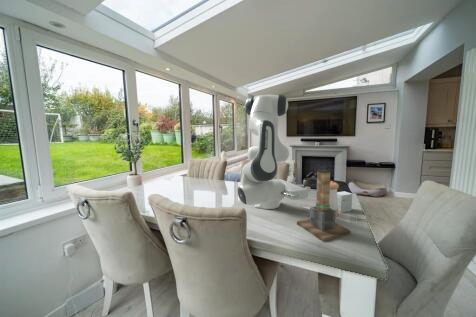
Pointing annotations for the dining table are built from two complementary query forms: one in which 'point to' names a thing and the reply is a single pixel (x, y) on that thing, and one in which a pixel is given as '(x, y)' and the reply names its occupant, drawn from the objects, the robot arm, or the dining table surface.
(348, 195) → the small box
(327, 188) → the oak post
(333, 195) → the pepper shaker
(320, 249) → the dining table surface
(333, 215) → the sleeve stand
